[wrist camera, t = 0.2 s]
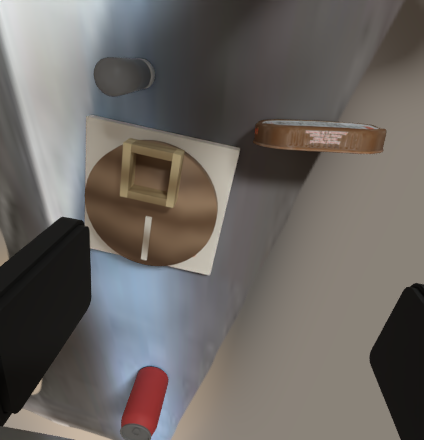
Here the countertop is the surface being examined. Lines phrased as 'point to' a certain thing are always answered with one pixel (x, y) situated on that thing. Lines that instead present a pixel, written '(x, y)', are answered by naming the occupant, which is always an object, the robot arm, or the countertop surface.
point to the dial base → (199, 149)
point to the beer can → (144, 404)
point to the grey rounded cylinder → (123, 75)
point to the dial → (151, 202)
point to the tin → (319, 136)
